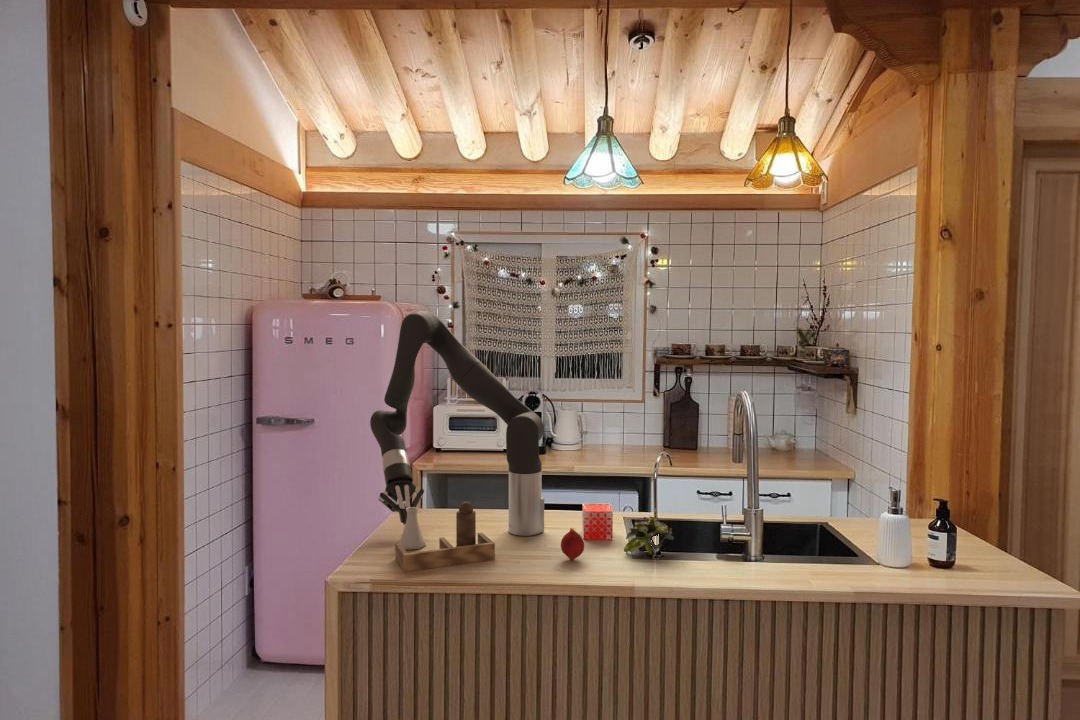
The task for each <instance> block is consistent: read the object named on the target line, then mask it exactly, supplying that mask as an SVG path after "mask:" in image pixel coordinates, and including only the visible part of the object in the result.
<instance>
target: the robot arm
mask: <svg viewBox="0 0 1080 720" xmlns="http://www.w3.org/2000/svg"><path fill="white" fill-rule="evenodd" d="M400 325H401V326H400V330H399V334H398V335H399V336H398V342H397V343H398V344H397V348H396V355H395V356H396V357H395V359H394V360H395V361H394V366H393V370H392V373H391V376H390V379H389V381H388V386H387V388H386V392H385V395H384V398H383V399H384V400H383V401H384V404H385V405H387V406H388V407H390V408H392V409H395V411H393V410H392V411H391V410H384V409H383V410H380V409H379V410H376V411H374V412H373V413H372V415H371V417H370V421H369V423H370V424H369V425H370V429H371V432H372V434H373V436H374V438H375V440H376V441H377V444H378V445H379V446H378V447H380V452H381V453H380V454H381V458H382V471H383V476H384V482H385V489H384V492H380V493H379V497H378V501H379V502H381V503H382V504H383V505H384V506H385V507H386V508H388V509H389V510H390V511H391V512H392V513H395V512H397V513H398V516H399V521H400V523H402V524H403V525H404V526H405V524H406V519H407V512H406V508H408V507H416V508H417V506H418V504H419V503H420V501H421V500H422V499H423V497H424V494H425V490H424V488H420V489H419V488H417V486H416V484H415V483H414V479H413V474H412V469H411V465H410V459H409V457H408V454H407V447H406V444H405V440H404V438H403V437H402V436H400V435H403V433H404V432H405V430H406V429H407V424H408V423H407V420H408V419H407V418H408V414H407V413H408V405H409V401H410V398H411V394H412V391H413V389H414V385H415V380H416V379H415V377H416V373H415V372H416V371H415V369H416V360H417V357H418V354H419V352H420V350H421V348H422V346H423V344H426V345H428V346H430V347H431V348H432V349H433V350H434V351H435V352H436V353H437V354H438V355H440V357H441V358H442V360H443V362H444V364H445V365H446V368H447V370H448V372H449V374H450V376H451V378H452V379H453V381H454V382H455V383H456V385H458V387H459V388H460V389H462V391H463V392H464V393H466V395H468V396H469V397H470V398H472V399H473V400H474V401H475V402H476V403H479V404H480V405H482V406H483V407H485V408H487V409H489V410H490V411H492V412H493V413H495V414H496V415H498V417H499V418H501V420H502V421H503V422H504V423H505V424H506V425H507V426H506V431H505V434H506V435H505V445H506V447H505V450H506V452H505V454H506V461H507V465H508V532H509V533H510V534H512V535H514V536H522V537H526V536H527V537H528V536H529V537H530V536H536V535H539V534H541V533H544V532H545V498H544V497H543V496H542V493H543V492H542V491H543V490H542V488H543V487H542V481H543V480H542V479H543V478H542V475H543V474H542V473H543V472H542V470H543V469H542V465H543V462H542V461H541V459H540V447H539V446H540V445H539V444H540V441H541V439H542V438H543V436H544V433H545V425H544V422H543V420H542V419H541V417H540V416H539V415H538V414H537V413H535V412H534V411H533V410H532V409H530V408H529V407H528V406H526V405H525V404H524V403H523V402H521V401H520V400H519V399H518V398H517V397H516V396H514V394H512V393H511V392H510V390H509V389H508V388H507V387H506V386H505V385H504V384H503V383H502V382H501V380H499V379H498V378H497V377H496V375H494V374H493V372H491V370H490V369H489V368H488V367H487V366H486V365H485V364H484V363H483V362H482V361H480V359H478V358H477V357H476V356H475V354H473V353H472V352H471V351H470V350H469V349H468V348H467V347H466V346H465V345H463V344H462V343H461V342H460V340H459V339H457V337H456V336H455V335H454V334H453V333H452V332H451V330H450V329H449V328H448V327H447V326H446V325H445V323H444V322H443V321H442V320H441V319H440V317H439V316H438V315H436V313H434V312H433V311H430V310H420V311H416V312H415V311H414V312H412V313H409V314H407V315H406V316H405V317H404V318H403V320H402V322H401V324H400ZM413 495H414V496H415V497H414V499H413V501H412V502H411V498H412V497H413Z"/></svg>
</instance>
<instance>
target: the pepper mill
mask: <svg viewBox="0 0 1080 720" xmlns="http://www.w3.org/2000/svg"><path fill="white" fill-rule="evenodd" d="M476 517H477V515H476V511H475V510H474V506H473V504H472V502H470V501H468V500H467V501H465V500H464V501H462V502H461V503H460V504H459V506H458V511H456V517H455V518H456V520H455V521H456V526H455V527H456V534H455V535H456V537H455V538H456V541H455V543H456V544H455V545H456V546H455V547H459V546H467V545H474V544H477V543H476V542H477V541H476V539H477V537H476V536H477V535H476V531H477V530H476V527H477V526H476V525H477V523H476V522H477V521H476V520H477V519H476Z"/></svg>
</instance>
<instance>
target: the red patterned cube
mask: <svg viewBox="0 0 1080 720" xmlns="http://www.w3.org/2000/svg"><path fill="white" fill-rule="evenodd" d="M581 509H582V518H581V519H582V520H581V522H582V523H581V524H582V527H581V530H582V539H583V541H613V536H614V534H613V533H614V531H613V530H614V529H613V528H614V527H613V526H614V525H613V524H614V521H613V520H614V512H613V507H612V505H611V503H582V508H581Z"/></svg>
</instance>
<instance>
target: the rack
mask: <svg viewBox="0 0 1080 720" xmlns="http://www.w3.org/2000/svg"><path fill="white" fill-rule="evenodd" d="M394 545H395V548H394V549H395V550H394V551H395V553H394V555H395V558H394V559H395V561H396V562H397V564H398V565H399V567H400V568H401V569H402V571H403V572H404V573H407V572H415V571H421V570H429V569H434V568H435V569H436V568H442V567H443V568H444V567H449V566H455V565H456V566H457V565H463V564H470V563H479V562H486V561H491V560H495V559H496V556H495V555H496V554H495V553H496V550H495V547H496V544H495V542H494V541H493V540H492V539H490V538H489V537H488V536H487V535H486V534H485V533H483V532H477V543H476V544H474V545H467V546H459V547H456V546H453V545H452V544H451V543H450V542H449V541H448V540H447V539H446V538H445V537H444V536H443V537H439V546H438V547H439V548H438V549H429V550H422V551H414V552H413V551H412V552H408V550H407V549H404V547H403V546H402V544H401V543H399V542H395V543H394Z"/></svg>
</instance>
